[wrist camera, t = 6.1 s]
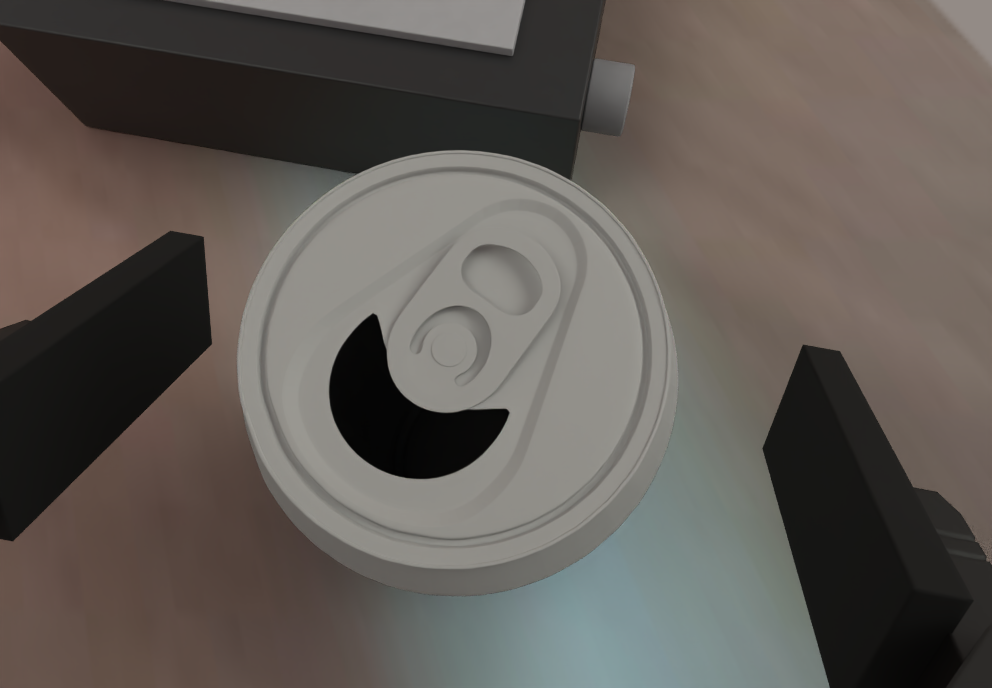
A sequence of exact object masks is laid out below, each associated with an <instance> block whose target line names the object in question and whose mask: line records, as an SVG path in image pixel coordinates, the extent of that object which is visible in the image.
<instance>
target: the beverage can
mask: <svg viewBox="0 0 992 688" xmlns="http://www.w3.org/2000/svg"><path fill="white" fill-rule="evenodd" d="M237 375H238V389H239V396H240V401H241V405H242V409H243V415H244V421H245V426H246V430H247V433H248V437H249V440H250V443H251V446H252V449H253V452H254V455H255V458H256V461H257V463H258V466H259V469H260V472H261V474H262V477H263V479H264V481H265V483H266V485H267V487H268V489H269V490H270V492H271V494H272V495H273V497H274V498H275V500H276V501H277V503H278V504H279V506H280V507H281V508H282V510H283V511H284V512H285V514H286V515H287V516H288V518H289V519H290V520H291V521H292V523H293V524H294V525H295V526H296V527H297V528H298V529H299V530H300V531H301V532H302V533H303V534H304V535H305V536H306V537H307V538H308V539H309V540H310V541H311V542H312V543H313V544H315V545H316V546H317V547H318V548H319V549H321V550H322V551H323V552H325V553H326V554H328V555H329V556H330V557H332V558H333V559H335V560H336V561H338V562H339V563H341V564H343V565H344V566H346V567H347V568H349V569H351V570H353V571H355V572H357V573H359V574H361V575H363V576H365V577H367V578H370V579H372V580H375V581H377V582H379V583H382V584H385V585H387V586H390V587H394V588H398V589H402V590H407V591H411V592H416V593H421V594H428V595H440V596H477V595H485V594H491V593H498V592H503V591H507V590H512V589H515V588H519V587H522V586H525V585H528V584H531V583H534V582H536V581H539V580H542V579H544V578H547V577H549V576H551V575H553V574H555V573H557V572H560V571H561V570H563V569H565V568H567V567H568V566H570V565H572V564H573V563H575V562H577V561H579V560H580V559H582V558H583V557H585V556H586V555H588V554H589V553H590V552H592V551H593V550H594V549H595V548H596V547H598V546H599V545H600V544H601V543H602V542H604V541H605V540H606V539H607V538H608V537H609V536H611V535H612V534H613V533H614V532H615V531H616V530H617V529H618V528H619V527H620V526H621V525H622V523H623V522H624V521H625V520H626V519H627V517H628V516H629V515H630V514H631V512H632V511H633V510H634V509H635V508H636V506H637V505H638V504H639V503H640V501H641V500H642V498H643V497H644V495H645V493H646V491H647V490H648V488H649V486H650V484H651V483H652V481H653V479H654V477H655V475H656V473H657V471H658V469H659V467H660V465H661V462H662V460H663V457H664V454H665V452H666V449H667V446H668V443H669V440H670V436H671V432H672V429H673V424H674V419H675V414H676V408H677V397H678V363H677V352H676V346H675V341H674V335H673V331H672V328H671V324H670V320H669V317H668V314H667V311H666V309H665V305H664V302H663V298H662V294H661V292H660V289H659V286H658V283H657V281H656V278H655V276H654V274H653V272H652V269H651V267H650V265H649V263H648V261H647V259H646V258H645V256H644V254H643V253H642V251H641V249H640V248H639V246H638V244H637V243H636V241H635V240H634V239H633V237H632V236H631V234H630V233H629V232H628V230H627V229H626V228H625V227H624V225H623V224H622V223H621V222H620V221H619V220H618V219H617V218H616V217H615V216H614V215H613V213H612V212H611V211H610V210H609V209H608V208H607V207H606V206H605V205H603V204H602V203H601V202H600V201H598V200H597V199H596V198H595V197H593V196H592V195H591V194H589V193H588V192H587V191H586V190H584V189H583V188H581V187H580V186H579V185H577V184H576V183H574V182H572V181H570V180H569V179H567V178H565V177H563V176H561V175H559V174H557V173H555V172H554V171H551V170H549V169H547V168H545V167H542V166H540V165H537V164H534V163H531V162H528V161H525V160H522V159H519V158H515V157H512V156H507V155H502V154H496V153H489V152H481V151H466V150H452V151H436V152H427V153H421V154H416V155H410V156H406V157H402V158H398V159H395V160H391V161H388V162H386V163H383V164H380V165H377V166H374V167H372V168H370V169H368V170H365V171H363V172H361V173H359V174H357V175H355V176H353V177H351V178H349V179H347V180H346V181H344V182H342V183H341V184H339V185H338V186H336V187H334V188H333V189H331V190H330V191H328V192H327V193H326V194H324V195H323V196H322V197H320V198H319V199H318V200H316V201H315V202H314V203H313V204H312V205H311V206H310V207H308V208H307V209H306V210H305V211H304V212H303V213H302V214H301V215H300V216H299V217H298V218H297V219H296V220H295V221H294V222H293V223H292V224H291V225H290V226H289V227H288V229H287V230H286V231H285V232H284V233H283V235H282V236H281V237H280V239H279V240H278V241H277V243H276V244H275V245H274V247H273V248H272V250H271V251H270V253H269V255H268V256H267V258H266V260H265V262H264V263H263V265H262V267H261V269H260V271H259V273H258V275H257V277H256V279H255V281H254V283H253V286H252V288H251V291H250V294H249V296H248V300H247V303H246V306H245V309H244V313H243V317H242V320H241V326H240V333H239V341H238V349H237Z"/></svg>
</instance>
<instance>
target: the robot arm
mask: <svg viewBox="0 0 992 688" xmlns="http://www.w3.org/2000/svg"><path fill="white" fill-rule="evenodd" d="M211 344H212V339H211V326H210V313H209V300H208V288H207V275H206V262H205V249H204V237H202V236H196V235H191V234H185V233H180V232H174V231H170V232H168V233H166V234H165V235H163V236H162V237H160V238H159V239H157V240H156V241H154V242H153V243H151V244H149V245H148V246H146V247H145V248H143V249H142V250H140V251H139V252H137V253H136V254H134V255H132V256H131V257H129V258H128V259H126V260H125V261H123V262H122V263H120V264H119V265H117V266H115V267H114V268H112V269H111V270H109V271H108V272H106V273H105V274H103V275H102V276H100V277H98V278H97V279H95V280H94V281H92V282H91V283H89V284H88V285H86V286H85V287H83V288H81V289H80V290H78V291H77V292H75V293H74V294H72V295H71V296H69V297H68V298H66V299H64V300H63V301H61V302H60V303H58V304H57V305H55V306H54V307H52V308H51V309H49V310H47V311H46V312H44V313H43V314H41V315H40V316H38V317H37V318H35V319H34V320H32V321H29V320H24V321H21V322H18V323H16V324H13V325H10V326H7V327H4V328H1V329H0V539H4V540H8V541H14V540H15V539H16V538H17V537H18V536H19V535H20V534H21V533H22V532H23V531H24V530H25V529H26V528H27V527H28V526H29V525H30V524H31V523H32V522H33V521H34V520H35V519H36V518H37V517H38V516H39V515H40V514H41V513H42V512H43V511H44V510H45V509H46V508H47V507H48V506H49V505H50V504H51V503H52V502H53V501H54V500H55V499H56V498H57V497H58V496H59V495H60V494H61V493H62V492H63V491H64V490H65V489H66V488H67V487H68V486H69V485H70V484H71V483H72V482H73V481H74V480H75V479H76V478H77V477H78V476H79V475H80V474H81V473H82V472H83V471H84V470H85V469H86V468H87V467H88V466H89V465H90V464H91V463H92V462H93V461H94V460H95V459H96V458H97V457H98V456H99V455H100V454H101V453H102V452H103V451H104V450H106V449H107V448H108V447H109V446H110V445H111V444H112V443H113V442H114V441H115V440H116V439H117V438H118V437H119V436H120V435H121V434H122V433H123V432H124V431H125V430H126V429H127V428H128V427H129V426H130V425H131V424H132V423H133V422H134V421H135V420H136V419H137V418H138V417H139V416H140V415H141V414H142V413H143V412H144V411H145V410H146V409H147V408H148V407H149V406H150V405H151V404H152V403H153V402H154V401H155V400H156V399H157V398H158V397H159V396H160V395H161V394H162V393H163V392H164V391H165V390H166V389H167V388H168V387H169V386H170V385H171V384H172V383H173V382H174V381H175V380H176V379H177V378H178V377H179V376H180V375H181V374H182V373H183V372H184V371H185V370H186V369H187V368H188V367H189V366H190V365H191V364H192V363H193V362H194V361H195V360H196V359H197V358H198V357H199V356H200V355H201V354H202V353H203V352H204V351H205V350H206V349H207V348H208V347H209V346H210V345H211ZM763 452H764V456H765V459H766V463H767V466H768V470H769V473H770V477H771V480H772V484H773V487H774V491H775V495H776V498H777V502H778V505H779V509H780V512H781V516H782V519H783V523H784V526H785V530H786V534H787V537H788V541H789V544H790V548H791V551H792V555H793V558H794V562H795V565H796V569H797V573H798V576H799V580H800V583H801V587H802V590H803V594H804V597H805V601H806V604H807V608H808V612H809V615H810V619H811V622H812V626H813V629H814V633H815V636H816V640H817V643H818V647H819V651H820V654H821V658H822V661H823V665H824V668H825V672H826V675H827V679H828V682H829V686H830V688H992V565H991V564H990V562H987V561H986V558H987V557H986V555H985V553H984V552H983V550H982V548H981V547H980V545H979V543H978V542H975V537H974V535H973V533H972V532H971V530H970V528H969V527H968V525H967V523H966V522H965V520H964V518H963V517H962V515H961V514H960V513H959V512H958V511H957V510H956V509H955V508H954V507H953V506H952V505H951V504H949V503H948V502H947V501H946V500H945V499H944V498H943V497H942V496H941V495H940V494H939V493H938V492H935V491H929V490H924V489H919V488H914V487H913V486H912V484H911V482H910V481H909V479H908V477H907V475H906V473H905V471H904V469H903V468H902V466H901V464H900V462H899V460H898V458H897V456H896V455H895V453H894V451H893V449H892V447H891V445H890V443H889V441H888V440H887V438H886V436H885V434H884V432H883V430H882V428H881V427H880V425H879V423H878V421H877V419H876V417H875V415H874V414H873V412H872V410H871V408H870V406H869V404H868V402H867V401H866V399H865V397H864V395H863V393H862V391H861V389H860V388H859V386H858V384H857V382H856V380H855V378H854V376H853V375H852V373H851V371H850V369H849V367H848V365H847V363H846V361H845V360H844V358H843V356H842V354H841V352H840V351H835V350H830V349H824V348H819V347H813V346H808V345H803V346H802V348H801V351H800V354H799V356H798V359H797V361H796V364H795V366H794V369H793V372H792V374H791V377H790V379H789V382H788V384H787V387H786V390H785V392H784V395H783V397H782V400H781V402H780V405H779V408H778V410H777V413H776V415H775V418H774V420H773V423H772V426H771V428H770V431H769V433H768V436H767V438H766V441H765V444H764V446H763Z"/></svg>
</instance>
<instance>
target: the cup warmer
mask: <svg viewBox="0 0 992 688" xmlns="http://www.w3.org/2000/svg"><path fill="white" fill-rule="evenodd" d="M605 1H606V0H0V41H1V42H2V43H3V44H4V45H5V46H6V47H7V48H8V49H9V50H10V51H11V52H12V53H13V54H14V55H15V56H16V57H17V58H18V59H19V60H20V61H21V62H22V63H23V64H24V65H25V66H26V67H27V68H28V69H29V70H30V71H31V72H32V73H33V74H34V75H35V76H36V77H37V78H38V79H39V80H40V81H41V82H42V83H43V84H44V85H45V86H46V87H47V88H48V89H49V90H50V91H51V92H52V93H53V94H54V95H55V96H56V97H57V98H58V99H59V100H60V101H61V102H62V103H63V104H64V105H65V106H66V107H67V108H68V109H69V110H70V111H71V112H72V113H73V114H74V115H75V116H76V117H77V118H78V119H79V120H80V121H81V122H82V123H83V124H84V125H85V126H89V127H94V128H100V129H106V130H111V131H117V132H123V133H129V134H134V135H140V136H146V137H152V138H157V139H163V140H169V141H175V142H180V143H186V144H192V145H198V146H203V147H209V148H215V149H220V150H226V151H232V152H238V153H243V154H249V155H255V156H261V157H266V158H272V159H278V160H284V161H289V162H295V163H301V164H306V165H312V166H318V167H324V168H329V169H335V170H341V171H347V172H352V173H358V174H359V173H361V172H363V171H365V170H368V169H370V168H372V167H374V166H377V165H380V164H383V163H386V162H388V161H391V160H395V159H398V158H402V157H406V156H410V155H416V154H421V153H427V152H436V151H452V150H466V151H481V152H489V153H496V154H502V155H507V156H512V157H515V158H519V159H522V160H525V161H528V162H531V163H534V164H537V165H540V166H542V167H545V168H547V169H549V170H551V171H554V172H555V173H557V174H559V175H561V176H563V177H565V178H567V179H569V180H570V181H571V179H572V174H573V168H574V163H575V158H576V153H577V148H578V142H579V137H580V132H581V130H582V131H588V132H594V133H600V134H606V135H612V136H621V134H622V131H623V127H624V123H625V119H626V115H627V110H628V106H629V101H630V96H631V91H632V85H633V79H634V73H635V65H633V64H628V63H621V62H615V61H609V60H603V59H595V53H596V48H597V43H598V38H599V32H600V27H601V22H602V17H603V11H604V6H605Z"/></svg>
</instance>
